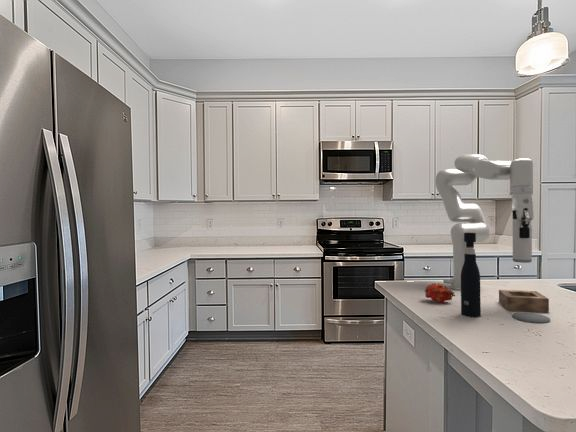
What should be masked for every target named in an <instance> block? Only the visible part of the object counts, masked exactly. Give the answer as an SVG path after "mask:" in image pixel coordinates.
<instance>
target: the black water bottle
mask: <svg viewBox="0 0 576 432" xmlns="http://www.w3.org/2000/svg"><path fill="white" fill-rule="evenodd" d="M464 242H466V248H474V247H475V243H477V242H476V233H464ZM465 251H466V252H465V253H466V254H464V264H463V267H462V271H461V290H460V309H461V310H460V314H461V315H462V316H463V317H467V318H479V317H481V316H482V315H481V314H482V313H481V312H482V311H481V310H482V309H481V274H480V269H479V266H478V264H477V255H476V250H475V248H474V249H465Z"/></svg>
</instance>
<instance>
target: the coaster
mask: <svg viewBox="0 0 576 432" xmlns="http://www.w3.org/2000/svg"><path fill="white" fill-rule="evenodd" d="M511 316H512V318H513V319H514V320H516V321H521V322H525V323H531V324H547V323H550V322H551V318H550V317H549V316H546V315H544V314H540V313H534V312H529V311H517V312H514V313H512V314H511Z"/></svg>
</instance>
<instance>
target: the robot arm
mask: <svg viewBox="0 0 576 432" xmlns="http://www.w3.org/2000/svg"><path fill="white" fill-rule="evenodd" d="M453 162H454V164H453V165H454V167H455V168H444V169H441V170H438V172H437V173H436V176H435V182H434V183H435V187H436V190H437V192H438V194H439V195H440V198H441V199H442V202H443V206H444V208H445V211H446V215H447V217H448V219H449V221H450V222H453V223H456V224H454V225H452V227H451V228H450V238H451V242H452V255H453V260H452V261H453V265H452V266H453V268H452V269H453V277H451V278H450V279H442V283H443V284H447V285H449V286H450V288H451V289H452V290H456V291H461V271H462V267H463V264H464V254H466V253H465V252H466V251H465V249H475V248H466V242H464V233H476V242H475V243H483V242H486V241H487V240H488V239H489V237H490V229H489V226H488V222H487V220H486V218H485V215H484V212H483V210H482V208H481V207H480V206H479V204H477V203H473V202H464V201H463V199H462V196H461V194H460V193H459V191H458V190H457V189H456V188H454V187H453V186H468V185H470V184H472V183H474V181H475V180H476V179H478V178H481V179H484V180H492V181H495V180H496V181H497V180H498V181H499V180H501V181H503V180H505V181H506V180H509V195H510V196H512V199H511V217H512V219H513V212H512V211H513V210H515V211H516V216H517V219H518V220H520V227H521V228H519V237H520V238H529V237H530V228H529V227H530V225H529V223H530V222H529V221H530V219H531V221H533V220H534V202H533V196H532V195H534V163H533V160H532V159H530V158H518V159H517V158H516V159H513V160H509V161H508V160H489V158H487V157H486V156H485V155H483V154H465V153H464V154H461V155H459V156H457V157H456V158H455V160H454V161H453ZM522 218H525V219H522ZM522 222H523V223H522Z"/></svg>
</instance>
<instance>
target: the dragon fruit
mask: <svg viewBox="0 0 576 432" xmlns="http://www.w3.org/2000/svg"><path fill="white" fill-rule="evenodd" d="M424 292H425V298H426V299H427V298H428V299H431V300H432V302H433V303H436V302H438V303H441V304H448V301H452V298H453V297H456V295H455V293H454V292H453V291H452V290H451V289H449V288H448V287H447V286H445V285H444V283H443V284H441V283H436V282H435V283H433V282H432V283H431V284H428V285H427V286H426V287H425V289H424Z"/></svg>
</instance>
